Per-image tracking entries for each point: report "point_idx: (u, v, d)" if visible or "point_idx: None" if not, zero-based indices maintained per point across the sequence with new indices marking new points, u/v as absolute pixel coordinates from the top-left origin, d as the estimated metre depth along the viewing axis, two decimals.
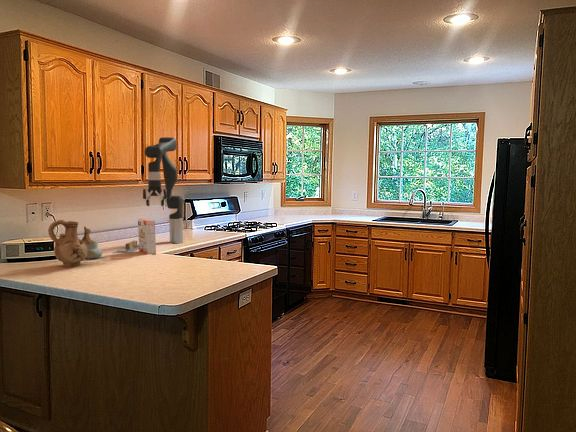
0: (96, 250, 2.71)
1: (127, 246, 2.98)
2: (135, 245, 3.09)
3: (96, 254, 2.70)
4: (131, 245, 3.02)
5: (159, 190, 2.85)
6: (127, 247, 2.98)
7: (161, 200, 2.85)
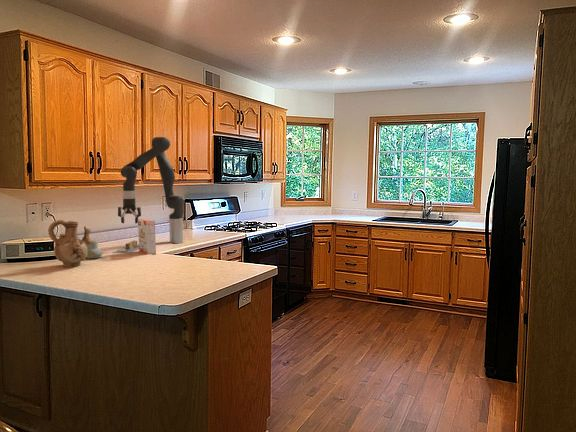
0: (96, 250, 2.71)
1: (127, 246, 2.98)
2: (135, 245, 3.09)
3: (96, 254, 2.70)
4: (131, 245, 3.02)
5: (133, 208, 3.00)
6: (127, 247, 2.98)
7: (135, 218, 3.00)
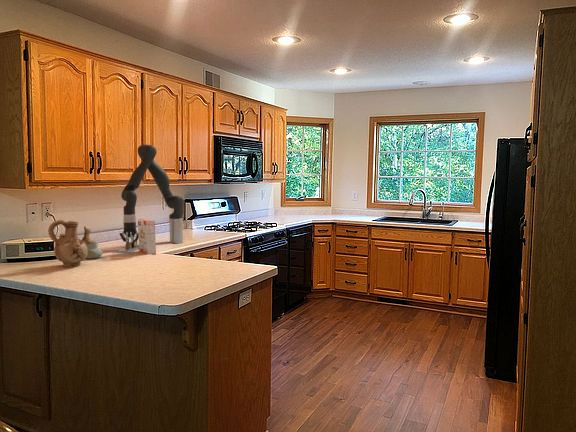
0: (96, 250, 2.71)
1: (127, 246, 2.98)
2: (135, 245, 3.09)
3: (96, 254, 2.70)
4: (131, 245, 3.02)
5: (134, 233, 3.01)
6: (127, 247, 2.98)
7: None
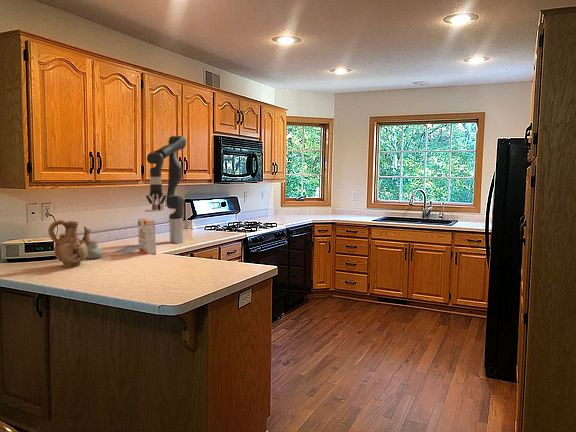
0: (96, 250, 2.71)
1: (154, 207, 3.03)
2: None
3: (96, 254, 2.70)
4: (157, 207, 3.07)
5: (160, 195, 3.06)
6: (153, 208, 3.03)
7: None
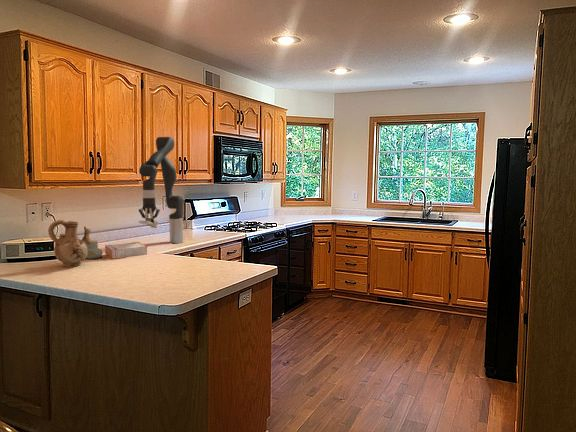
0: (96, 250, 2.71)
1: (148, 220, 2.92)
2: (155, 225, 3.03)
3: (96, 254, 2.70)
4: None
5: (153, 209, 2.93)
6: None
7: (151, 219, 2.94)
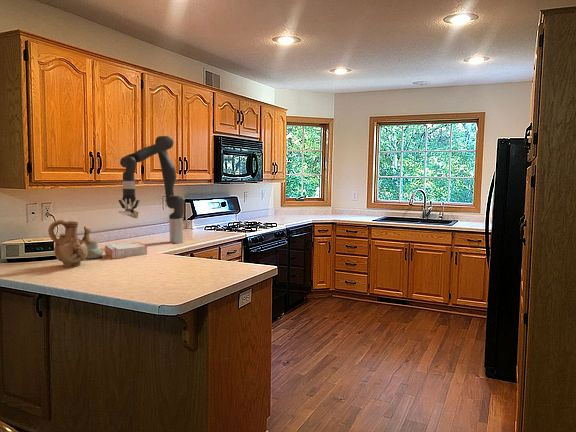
0: (96, 250, 2.71)
1: (128, 211, 2.99)
2: (136, 215, 3.09)
3: (96, 254, 2.70)
4: None
5: (133, 200, 2.99)
6: None
7: None
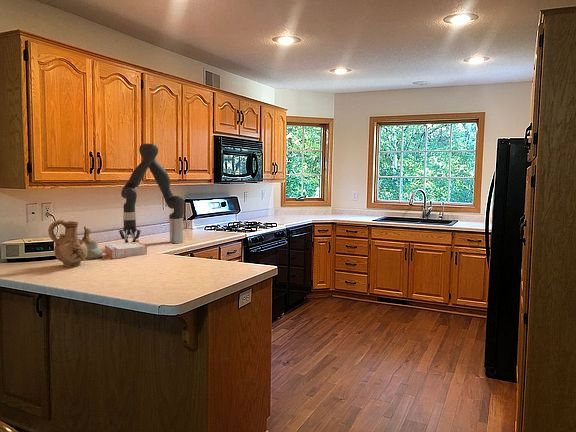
0: (96, 250, 2.71)
1: None
2: None
3: (96, 254, 2.70)
4: None
5: (134, 230, 3.01)
6: None
7: (133, 240, 3.02)
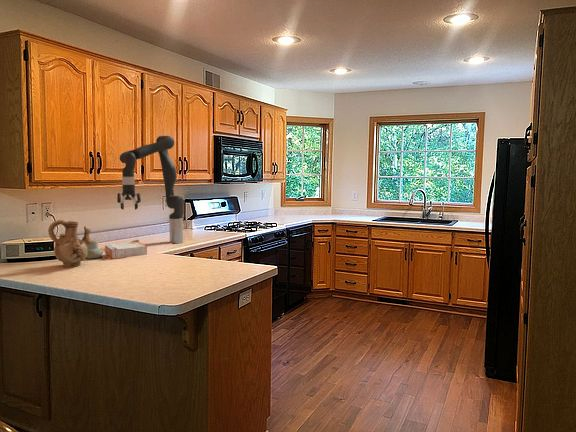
0: (96, 250, 2.71)
1: None
2: None
3: (96, 254, 2.70)
4: None
5: (133, 194, 2.99)
6: None
7: (135, 204, 2.99)
